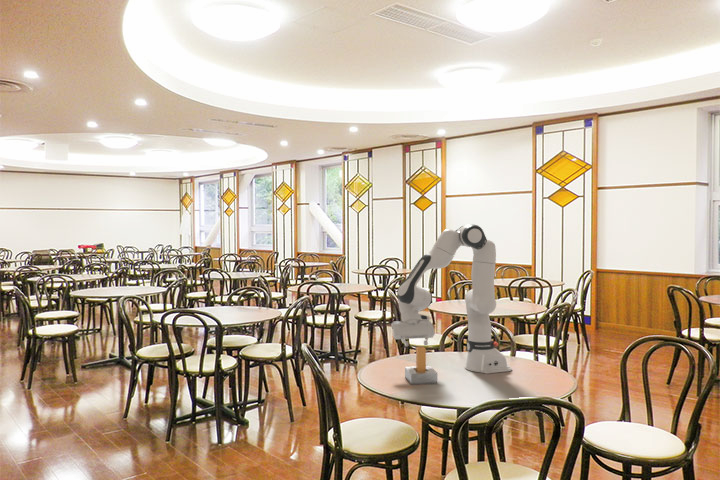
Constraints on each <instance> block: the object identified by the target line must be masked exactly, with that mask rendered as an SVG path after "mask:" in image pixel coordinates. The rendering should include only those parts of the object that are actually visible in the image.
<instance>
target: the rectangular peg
mask: <svg viewBox="0 0 720 480" xmlns="http://www.w3.org/2000/svg"><path fill="white" fill-rule="evenodd" d="M415 349H416V350H415V351H416V354H415V357H416V358H415V359H416V364H415V365H416V372H422V371H426V366H427V363H426V362H427V349H426V347H424V346H420V347H419V346H416V347H415Z"/></svg>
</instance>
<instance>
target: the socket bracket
mask: <svg viewBox="0 0 720 480" xmlns="http://www.w3.org/2000/svg"><path fill="white" fill-rule="evenodd" d="M404 378H405V379H406V380H407V382H408V383H409V384H410V385H416V386H417V385H432V384H433V385H435V384H438V372H437V371H436V370H435V368H433V367H432V366H431V365H426V371H422V372H416V366H415V365H413V366H404Z"/></svg>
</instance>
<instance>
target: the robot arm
mask: <svg viewBox="0 0 720 480" xmlns="http://www.w3.org/2000/svg"><path fill="white" fill-rule="evenodd" d="M461 246H462V247H463V246H464V247H467V248H471V249H472V252H473V256H472V257H473V258H472V265H471V273H470V279H471V286H472V288H471V289H469V290H468V291H467V292H466V293H465V296H464V301H465V309H466V317H467V327H468V331H467V332H468V333H467V337H468V338H467V340H466V341H467V343H466V348H467V354H466V355H467V357H466V360H465V361H466V362H465V366H464V368H465V370H467V371H471V372H477V373H481V374H495V373H502V372H511V371H513V370H512V369H513V368H512V366H511V365H510V364H508V361H507V358H506V356H505V355H504V354H503V352H501V351H499V350H498V349H497V348H495V347H498V346H499V343H498V342H497V341H494V340H492V324H491V319H490V314H491V313H493V312H494V311H495V309H496V308H497V300H496V294H495V292H496V291H495V273H496V272H495V271H496V262H497V250H496V249H497V248H496V245H495V242H493V241H492V240H490V239H487V236H486V234H485V231H484V230H483V229H482V227H480V226H479V225H477V224H473V223H469V224H464V225H462V226H460V227H459V228H457V229H456V230H453V229H449V228H448V229H444V230H443V231H442V232H441V233H440V234H439V236H438V238H437V239H436V241H435V243H434V245H433V247H432V249H431V250H430V251H429V252H428V253H427V254H424V255H422V256H421V258H419V260H418V261H417V263H416V264H415V265H414V267H413V269H412V270H411V271H410V273H409V274H408V276H407V277H406V278H405V280H404V281H403V282H402V283H401V284H400V285H399V287H398V288H397V292H396V293H397V298H398V300H397V301H398V309H399V313H400V314H401V315H400V318H401V320H400V321H399V320H398V321H397V320H396V321H393V322H391V324H390V326H391V329H392V338H393V339H394V340H400V341H401V343H403V344H404V347H409V344H410V343H409V341H406V339H407V340H410V339H425V340H423V345H424V346H428V345H429V343H428V340H429V338H430V339H432V338H433V337H434V336H435V333H436V332H435V327H434V325H433V323H432V321H430V317H429V316H428V315H424V314H421V313H420V312H422V311H424V310H426V309H427V308H429V307H430V306H431V303H432V300H433V297H432V294H431V292H430V291H428V290H426V289H425V288H422V287H419V286H417V285H418V283H419V282H420V280H421V279H422V277H423V275H425V273H426V272H427V271H428V270H433V269H438V270H440V269H443V268H446V267H448V266H449V265H450V263H452V260H453V259H454V257H455V255H456V253H457V250H458V249H459V248H460V247H461Z"/></svg>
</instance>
